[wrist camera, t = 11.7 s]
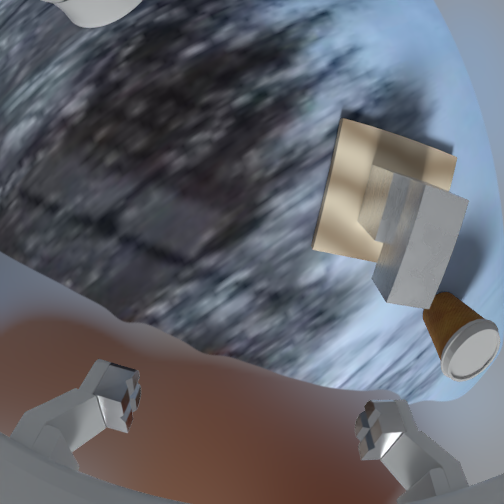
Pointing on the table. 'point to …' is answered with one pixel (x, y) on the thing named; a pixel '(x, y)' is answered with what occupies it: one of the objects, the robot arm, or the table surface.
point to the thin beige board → (356, 177)
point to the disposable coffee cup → (460, 337)
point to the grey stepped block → (410, 234)
